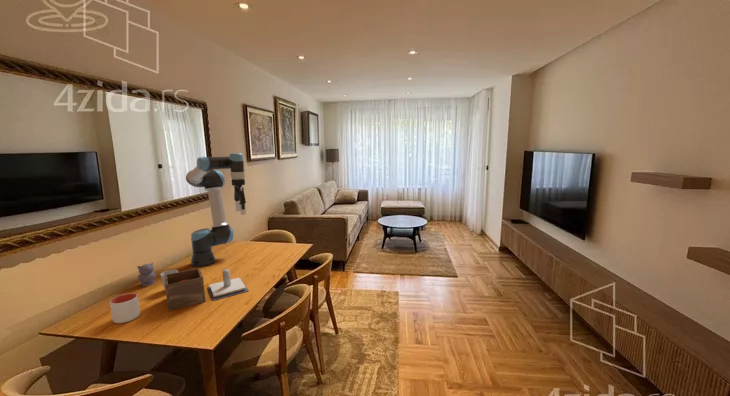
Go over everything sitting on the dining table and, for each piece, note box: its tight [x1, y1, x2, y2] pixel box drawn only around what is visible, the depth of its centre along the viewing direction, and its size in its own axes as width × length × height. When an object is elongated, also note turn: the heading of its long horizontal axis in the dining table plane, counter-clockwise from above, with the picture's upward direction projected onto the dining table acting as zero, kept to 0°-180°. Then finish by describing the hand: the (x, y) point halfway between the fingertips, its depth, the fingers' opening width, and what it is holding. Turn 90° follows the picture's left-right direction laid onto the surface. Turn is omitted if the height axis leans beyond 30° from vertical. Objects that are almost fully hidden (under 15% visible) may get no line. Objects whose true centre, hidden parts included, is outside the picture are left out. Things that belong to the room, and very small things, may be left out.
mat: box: [206, 279, 250, 302], centre depth 165 cm, size 19×18×1 cm
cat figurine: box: [136, 262, 157, 287], centre depth 172 cm, size 8×8×12 cm
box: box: [164, 267, 206, 312], centre depth 153 cm, size 16×16×13 cm
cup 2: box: [160, 269, 179, 291], centre depth 165 cm, size 8×8×10 cm
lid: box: [209, 268, 247, 297], centre depth 164 cm, size 16×16×11 cm
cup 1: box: [109, 292, 141, 324], centre depth 136 cm, size 10×10×10 cm
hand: (240, 212), depth 183 cm, fingers open, 13 cm apart
